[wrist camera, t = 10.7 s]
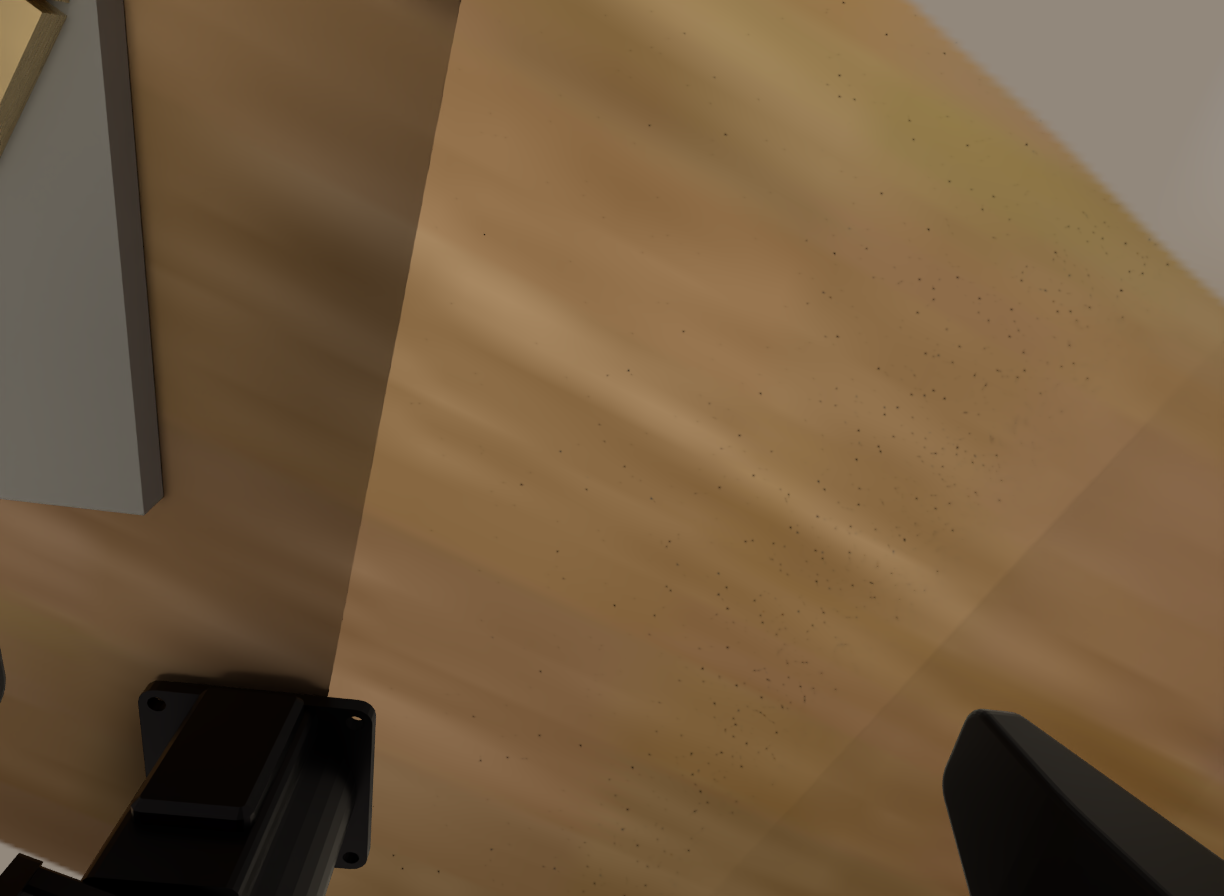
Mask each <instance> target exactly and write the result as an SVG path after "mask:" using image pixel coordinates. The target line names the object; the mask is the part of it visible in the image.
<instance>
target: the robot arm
mask: <svg viewBox="0 0 1224 896" xmlns="http://www.w3.org/2000/svg"><path fill="white" fill-rule="evenodd" d="M5 682H6V677H5V670H4V665H3V660H2V655H1V649H0V702H1V700H2V697H3V694H4V690H5ZM156 697H158V698H161V699H162V700H163V701H160V700H158V699H157V698H156ZM164 701H165V702H164ZM138 705H139V715H140V724H141V733H142V742H143V752H144V761H145V770H146V779H145V781H144V783H143V784H142V786H141V787H140V789H139V790H138V792H137V793H136V795H135V797H134V798H133V800H132V801H131V803H130V804H129V806H128V807H127V809H126V811H125V812H124V814H123V815H122V817H121V818H120V820H119V822H118V823H117V825H116V826H115V828H114V829H113V831H112V832H111V834H110V836H109V837H108V839H107V840H106V842H105V843H104V845H103V846H102V848H101V850H100V851H99V853H98V854H97V856H96V857H95V859H94V860H93V862H92V864H91V865H90V867H89V868H88V870H87V871H86V873H85V874H84V876H83V878H82V879H81V881H80V880H78V879H75V878H72V877H69V876H67V875H64V874H61V873H58V872H55V871H53V870H50V869H47V868H45V867H42V866H41V865H42V863H43V861H40V860H37V859H34V858H32V857H29V856H26V855H24V854H21V853H19V854H18V855H17V856H16V858H15V859H14V860H13V861H12V862H11V863H10V864H9V866H8V867H7V868H6V869H5V871H4V872H3V873H2V874H1V875H0V896H325V894H326V891H327V888H328V885H329V882H330V879H331V876H332V873H333V870H334V868H345V869H357V868H360V867H362V866H363V865H364V864H365V863H366V861H367V858H368V854H369V851H370V841H371V818H372V794H373V771H374V748H375V725H376V713H375V710H374V708H373V707H372V706H371V705H370V704H368V703H367V702H364V701H360V700H353V699H342V698H332V697H322V696H312V695H302V694H292V693H282V692H272V691H262V690H251V689H241V688H231V687H221V686H211V685H201V684H191V683H181V682H170V681H154V682H152V683H150V684H149V685H148V686H147V687H146V689H145V690H144V691H143V693H142V694H141V695H140V697H139V700H138ZM354 716H356V717H359V718H361V719H362V720H355V719H353V718H352V717H354ZM942 787H943V796H944V800H945V804H946V808H947V812H948V815H949V819H950V823H951V827H952V830H953V834H954V838H955V842H956V845H957V849H958V853H959V856H960V860H961V864H962V868H963V871H964V875H965V879H966V883H967V886H968V890H969V894H970V896H1224V860H1223V859H1221V858H1220V857H1218V856H1217V855H1216V854H1214V853H1213V852H1211V851H1210V850H1209V849H1207V848H1206V847H1204V846H1203V845H1202V844H1200V843H1199V842H1197V841H1196V840H1195V839H1193V838H1192V837H1190V836H1189V835H1188V834H1186V833H1185V832H1183V831H1182V830H1181V829H1179V828H1178V827H1176V826H1175V825H1174V824H1172V823H1171V822H1169V821H1168V820H1167V819H1165V818H1164V817H1162V816H1161V815H1160V814H1158V813H1157V812H1155V811H1154V810H1153V809H1151V808H1150V807H1148V806H1147V805H1146V804H1144V803H1143V802H1141V801H1140V800H1139V799H1137V798H1136V797H1134V796H1133V795H1132V794H1130V793H1129V792H1127V791H1126V790H1125V789H1123V788H1122V787H1121V786H1119V785H1118V784H1116V783H1115V782H1114V781H1112V780H1111V779H1109V778H1108V777H1107V776H1105V775H1104V774H1102V773H1101V772H1100V771H1098V770H1097V769H1095V768H1094V767H1093V766H1091V765H1090V764H1088V763H1087V762H1086V761H1084V760H1083V759H1081V758H1080V757H1079V756H1077V755H1076V754H1074V753H1073V752H1072V751H1070V750H1069V749H1067V748H1066V747H1065V746H1063V745H1062V744H1060V743H1059V742H1058V741H1056V740H1055V739H1053V738H1052V737H1051V736H1049V735H1048V734H1046V733H1045V732H1044V731H1042V730H1041V729H1039V728H1038V727H1037V726H1035V725H1034V724H1032V723H1031V722H1030V721H1028V720H1027V719H1025V718H1024V717H1022V716H1021V715H1019V714H1016V713H1013V712H1007V711H997V710H988V709H978V710H974V711H973V712H971V713H970V714H969V715H968V716H967V718H966V720H965V722H964V724H963V727H962V729H961V732H960V734H959V736H958V739H957V741H956V743H955V746H954V748H953V751H952V753H951V755H950V758H949V760H948V762H947V765H946V767H945V770H944V774H943V785H942Z"/></svg>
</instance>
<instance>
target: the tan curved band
mask: <svg viewBox="0 0 1224 896" xmlns="http://www.w3.org/2000/svg"><path fill="white" fill-rule="evenodd" d="M54 1H60V2H66V3H70V1H69V0H54ZM67 17H68V16H67V15H66V14H64V13H63V12H61V11H60V10H59V9H57V8H56V7H55V6H53V5H52V4H51V3H49V2H48V1H46V0H0V158H1V155H2V153H3V151H4V149H5V147H6V145H7V143H8V141H9V139H10V137H11V134H12V132H13V130H14V128H15V126H16V124H17V122H18V120H19V118H20V115H21V113H22V111H23V109H24V107H25V105H26V103H27V101H28V99H29V97H30V94H31V92H32V90H33V88H34V86H35V84H36V82H37V80H38V78H39V76H40V73H41V71H42V69H43V67H44V65H45V63H46V61H47V59H48V57H49V55H50V52H51V50H52V48H53V46H54V44H55V42H56V40H57V38H58V36H59V33H60V31H61V29H62V27H63V25H64V23H65V21H66V19H67Z"/></svg>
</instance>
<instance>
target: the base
mask: <svg viewBox="0 0 1224 896" xmlns="http://www.w3.org/2000/svg"><path fill="white" fill-rule="evenodd" d="M46 1H48V2H49V3H51V4H52V5H53V6H55V7H56V8H57V9H59V10H60V11H61V12H63V13H64V14H66V15H67V16H68V17H67V19H66V21H65V23H64V25H63V27H62V29H61V31H60V33H59V36H58V38H57V40H56V42H55V44H54V46H53V48H52V50H51V52H50V55H49V57H48V59H47V61H46V63H45V65H44V67H43V69H42V71H41V73H40V76H39V78H38V80H37V82H36V84H35V86H34V88H33V90H32V92H31V94H30V97H29V99H28V101H27V103H26V105H25V107H24V109H23V111H22V113H21V115H20V118H19V120H18V122H17V124H16V126H15V128H14V130H13V132H12V134H11V137H10V139H9V141H8V143H7V145H6V147H5V149H4V151H3V153H2V155H1V158H0V499H6V500H15V501H23V502H32V503H41V504H49V505H58V506H67V507H75V508H84V509H93V510H102V511H110V512H119V513H128V514H136V515H145V514H146V513H147V512H148V511H149V510H150V509H151V508H152V507H153V506H154V505H155V504H156V503H158V502H159V501H160V500H161V499H162V498H163V485H162V473H161V461H160V448H159V436H158V424H157V412H156V399H155V387H154V375H153V362H152V350H151V338H150V326H149V313H148V301H147V289H146V276H145V264H144V252H143V239H142V227H141V215H140V203H139V190H138V178H137V166H136V153H135V141H134V129H133V117H132V104H131V92H130V80H129V67H128V55H127V43H126V30H125V18H124V6H123V0H69V1H70V3H66V2H60V1H54V0H46Z"/></svg>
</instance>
